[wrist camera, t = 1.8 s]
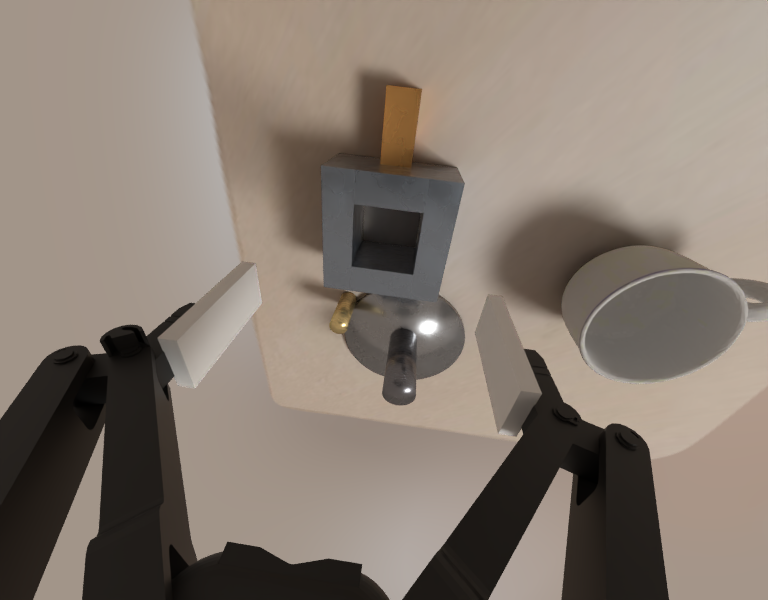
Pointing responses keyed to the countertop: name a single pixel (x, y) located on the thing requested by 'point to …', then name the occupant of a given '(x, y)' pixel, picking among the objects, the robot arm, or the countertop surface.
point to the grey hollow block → (391, 191)
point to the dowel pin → (343, 313)
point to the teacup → (656, 313)
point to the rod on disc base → (404, 341)
